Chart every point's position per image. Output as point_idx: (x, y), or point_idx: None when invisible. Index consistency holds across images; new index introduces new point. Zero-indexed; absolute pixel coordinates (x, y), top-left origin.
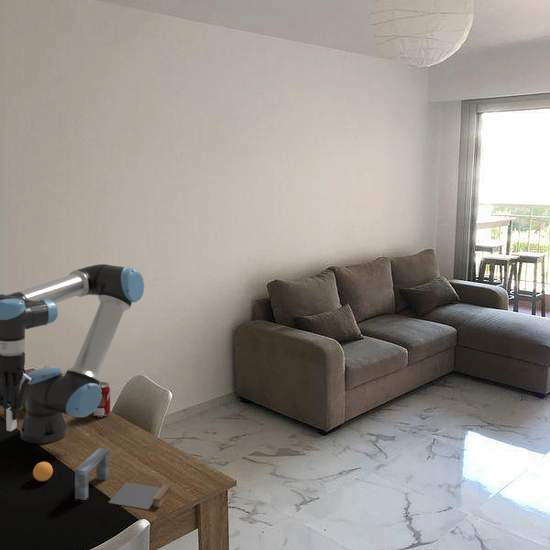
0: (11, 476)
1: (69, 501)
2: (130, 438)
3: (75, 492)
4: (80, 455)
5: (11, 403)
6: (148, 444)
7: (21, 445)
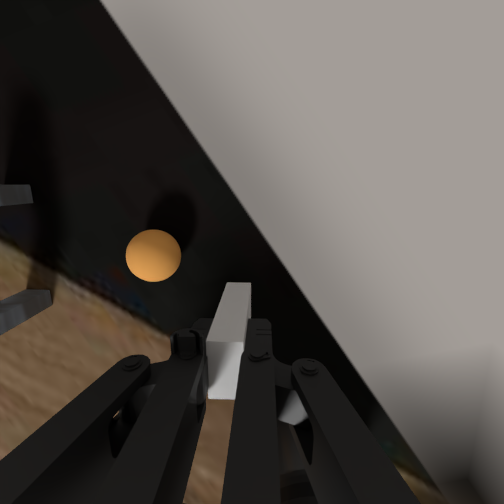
0: (248, 243)
1: (37, 174)
2: None
3: (10, 185)
4: None
5: (189, 380)
6: None
7: None
